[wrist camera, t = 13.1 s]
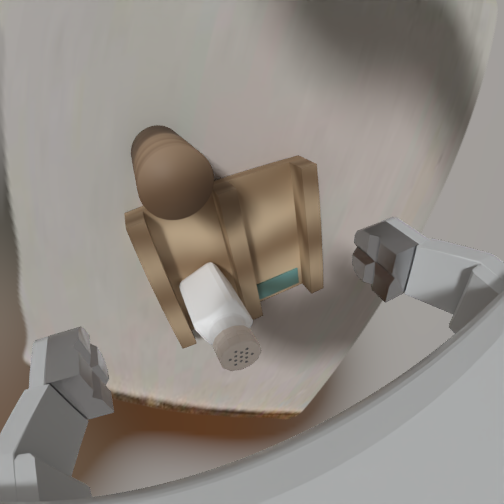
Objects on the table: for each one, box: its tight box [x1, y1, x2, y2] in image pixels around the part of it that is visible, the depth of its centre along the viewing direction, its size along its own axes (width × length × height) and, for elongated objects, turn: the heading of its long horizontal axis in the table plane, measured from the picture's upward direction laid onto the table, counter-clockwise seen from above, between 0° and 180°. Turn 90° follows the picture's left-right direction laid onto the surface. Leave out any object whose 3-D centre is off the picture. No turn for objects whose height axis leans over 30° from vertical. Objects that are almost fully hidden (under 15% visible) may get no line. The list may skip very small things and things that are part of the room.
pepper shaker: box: [179, 262, 261, 371], centre depth 25 cm, size 4×4×10 cm
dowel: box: [131, 126, 214, 220], centre depth 19 cm, size 4×4×9 cm
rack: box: [125, 156, 323, 348], centre depth 28 cm, size 14×16×3 cm
